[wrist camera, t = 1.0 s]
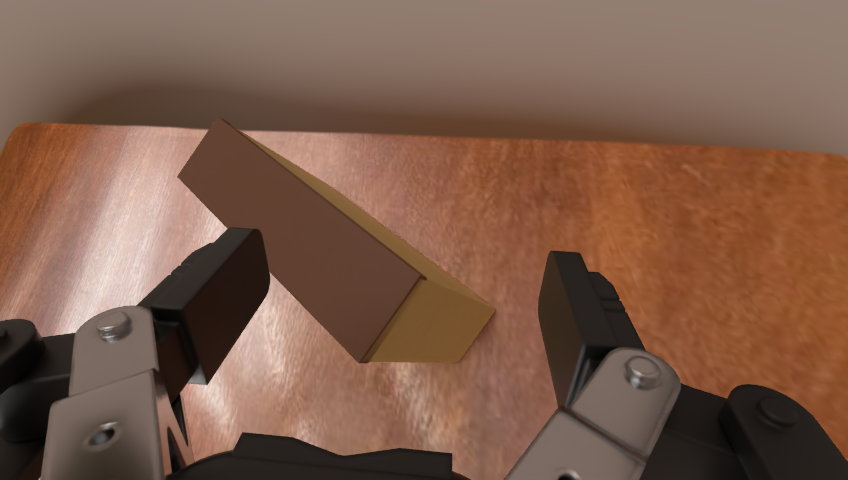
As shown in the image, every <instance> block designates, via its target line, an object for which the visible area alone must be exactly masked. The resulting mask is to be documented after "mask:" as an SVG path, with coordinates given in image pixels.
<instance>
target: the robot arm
mask: <svg viewBox="0 0 848 480" xmlns="http://www.w3.org/2000/svg"><path fill="white" fill-rule="evenodd" d="M269 285H270V273H269V267H268V262H267V257H266V251H265V246H264V240H263V236H262V233H261V231H260V230H259V229H252V228H238V227H230V228H228V229H227V230H226V231H225V232H224V233H223V234H222V235H221V236H220V237H219V238H218V239H217V240H216V241H215V242H214V243H209V244H207V245H205V246H204V247H202V248H200V249H198V250H196V251H194V252H192V253H191V254H190V255H189V256H188V257H187V258H186V259H185V260H184V261H183V262H182V263H181V266H178V267H177V268H176V269H175V270H173V271H172V272H171V275H168V276H167V277H166V278H165V279H164V280H163V281H162V282H161V283H160V284H159V285H158V286H157V287H156V288H154V289H153V290H152V291H151V292H150V293H149V294H148V295H147V296H146V297H145V298H144V299H143V300H142V301H141V302H140V303H139V304H138V305H137V306H123V307H118V308H114V309H111V310H108V311H105V312H102V313H100V314H98V315H96V316H94V317H93V318H91V319H89V320H88V321H87V322H85V323H84V324H83V325H82V326H81V327H80V328H79V329H78V330H77V332H76V333H71V334H63V335H56V336H49V337H41V336H40V334H39V332H38V330H37V329H36V327H35V325H34V324H33V323H32V322H31V321H28V320H24V319H11V320H5V321H0V480H38V479H39V478H40V477H41V479H40V480H471V479H469V478H467V477H465V476H463V475H461V474H458V473H456V472H453V471H452V453H443V452H433V451H423V450H413V449H403V448H397V449H390V450H383V451H376V452H369V453H362V454H355V455H348V456H342V455H337V454H335V453H332V452H330V451H327V450H324V449H322V448H319V447H317V446H314V445H311V444H309V443H306V442H304V441H301V440H298V439H296V438H293V437H284V436H274V435H264V434H254V433H244V432H242V434H241V436H240V438H239V440H238V442H237V444H236V446H235V448H234V450H230V451H225V452H221V453H218V454H214V455H211V456H208V457H206V458H203V459H200V460H198V461H196V462H195V459H194V454H193V449H192V443H191V437H190V432H189V426H188V420H187V415H186V409H185V403H184V399H183V396H182V393H181V391H182V390H183V388H184V387H185V386H186V384H187V383H191V384H201V385H208V383H209V382H210V380H211V379H212V377H213V376H214V374H215V373H216V371H217V370H218V368H219V367H220V365H221V364H222V362H223V361H224V359H225V358H226V356H227V354H228V353H229V351H230V350H231V348H232V347H233V345H234V344H235V342H236V341H237V339H238V338H239V336H240V335H241V333H242V332H243V330H244V329H245V327H246V326H247V324H248V323H249V321H250V320H251V318H252V317H253V315H254V314H255V312H256V311H257V309H258V308H259V306H260V305H261V303H262V302H263V300H264V299H265V297H266V295H267V293H268V290H269ZM538 316H539V322H540V327H541V331H542V336H543V340H544V345H545V349H546V354H547V358H548V363H549V367H550V372H551V376H552V381H553V385H554V390H555V394H556V399H557V403H558V409H557V410H556V411H555V413H554V414H553V415H552V416H551V418H550V419H549V420H548V422H547V423H546V424H545V426H544V427H543V428H542V430H541V431H540V432H539V434H538V435H537V436H536V437H535V439H534V440H533V441H532V443H531V444H530V445H529V447H528V448H527V449H526V451H525V452H524V453H523V455H522V456H521V457H520V459H519V460H518V461H517V462H516V464H515V465H514V466H513V468H512V469H511V470H510V472H509V473H508V474H507V476H506V477H505V478H504V480H848V462H847V460H846V459H845V458H844V456H843V455H842V454H841V452H840V451H839V450H838V448H837V447H836V446H835V444H834V443H833V442H832V440H831V439H830V438H829V436H828V435H827V434H826V432H825V431H824V430H823V428H822V427H821V426H820V424H819V423H818V422H817V420H816V419H815V418H814V417H813V416H812V415H811V414H810V413H809V412H808V411H807V410H806V409H805V408H804V407H802V406H801V405H800V404H798V403H797V402H796V401H794V400H793V399H791V398H789V397H787V396H786V395H784V394H782V393H780V392H777V391H775V390H772V389H770V388H767V387H763V386H759V385H750V384H746V385H740V386H737V387H735V388H734V389H733V390H732V391H731V393H730V394H729V396H728V398H727V399H726V398H723V397H720V396H717V395H714V394H711V393H707V392H704V391H701V390H698V389H695V388H692V387H689V386H686V385H684V384H682V383H680V379H679V377H678V375H677V374H676V372H675V371H674V370H673V368H672V367H671V366H670V365H669V364H667V363H666V362H665V361H664V360H662V359H661V358H659V357H658V356H656V355H654V354H652V353H650V352H647V351H646V350H645V348H644V346H643V344H642V342H641V340H640V338H639V336H638V334H637V332H636V330H635V328H634V326H633V324H632V322H631V320H630V318H629V316H628V314H627V312H625V308H624V306H623V304H622V302H621V301H619V296H618V294H617V292H616V290H615V288H614V286H613V285H612V284H611V283H610V282H609V281H608V280H607V279H606V278H605V277H603V276H602V275H601V274H600V273H599V272H588V270H587V268H586V265H585V263H584V261H583V258H582V256H581V254H580V253H577V252H563V251H550V253H549V255H548V258H547V262H546V267H545V272H544V276H543V281H542V286H541V290H540V295H539V302H538Z"/></svg>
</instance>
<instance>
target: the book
mask: <svg viewBox="0 0 848 480" xmlns="http://www.w3.org/2000/svg"><path fill="white" fill-rule="evenodd" d="M177 177H178V178H179V179H180V180H181V181H182V182H183V183H184V184H185V185H186V186H187V187H188V188H189V189H190V190H191V191H192V192H193V193H194V194H195V195H196V197H197V198H198V199H199V200H200V201H201V202H202V203H203V204H204V205H205V206H206V207H207V208H208V209H209V210H210V211H211V212H212V213H213V214H214V215H215V216H216V217H217V218H218V219H219V220H220V221H221V222H222V223H223V224H224V225H225V226H226V227H227V228H230V227H238V228H252V229H259V230H260V231H261V233H262V236H263V240H264V246H265V251H266V257H267V262H268V267H269V272H270V273H271V274H272V275H273V276H274V277H275V278H276V279H277V280H278V281H279V282H280V283H281V284H282V285H283V286H284V287H285V288H286V289H287V290H288V291H289V292H290V293H291V294H292V295H293V296H294V297H295V298H296V299H297V300H298V301H299V302H300V303H301V304H302V306H303V307H304V308H305V309H306V310H307V311H308V312H309V313H310V314H311V315H312V316H313V317H314V318H315V319H316V320H317V321H318V322H319V323H320V324H321V325H322V326H323V327H324V328H325V329H326V330H327V331H328V332H329V333H330V334H331V335H332V336H333V337H334V338H335V339H336V340H337V342H338V343H339V344H340V345H341V346H342V347H343V348H344V349H345V350H346V351H347V352H348V353H349V354H350V355H351V356H352V357H353V358H354V359H355V360H356V361H357V362H358V363H369V362H420V363H458V362H459V361H460V360H461V358H462V357H463V355H464V354H465V353H466V351H467V350H468V348H469V347H470V346H471V344H472V343H473V341H474V340H475V339H476V337H477V336H478V334H479V333H480V332H481V330H482V329H483V327H484V326H485V324H486V323H487V322H488V320H489V319H490V317H491V316H492V315H493V313H494V312H495V310H496V309H495V308H493V307H492V306H491V305H489V304H488V303H487V302H485V301H484V300H483V299H481V298H480V297H479V296H477V295H476V294H475V293H473V292H472V291H471V290H469V289H468V288H467V287H465V286H464V285H463V284H461V283H460V282H459V281H457V280H456V279H455V278H453V277H452V276H451V275H449V274H448V273H447V272H445V271H444V270H443V269H441V268H440V267H439V266H437V265H436V264H435V263H433V262H432V261H431V260H429V259H428V258H427V257H425V256H424V255H423V254H421V253H420V252H419V251H417V250H416V249H415V248H413V247H412V246H411V245H409V244H408V243H407V242H405V241H404V240H403V239H401V238H400V237H399V236H397V235H396V234H395V233H393V232H392V231H391V230H389V229H388V228H387V227H385V226H384V225H383V224H381V223H380V222H379V221H377V220H376V219H375V218H373V217H372V216H371V215H369V214H368V213H367V212H365V211H364V210H363V209H361V208H360V207H358V206H357V205H356V204H354V203H353V202H352V201H350V200H349V199H348V198H346V197H345V196H344V195H342V194H341V193H340V192H338V191H337V190H336V189H334V188H333V187H331V186H329V185H328V184H326V183H325V182H323V181H321V180H320V179H318V178H316V177H315V176H313V175H311V174H310V173H308V172H307V171H305V170H303V169H302V168H300V167H298V166H297V165H295V164H293V163H292V162H290V161H289V160H287V159H285V158H284V157H282V156H280V155H279V154H277V153H275V152H274V151H272V150H271V149H269V148H267V147H266V146H264V145H262V144H261V143H259V142H257V141H256V140H254V139H253V138H251V137H249V136H248V135H246V134H244V133H243V132H241V131H239V130H238V129H236V128H235V127H233V126H232V125H230V124H229V123H228V122H226V121H225V120H223V119H222V118H220V117H217V119H216V120H215V122H214V123H213V125H212V126H211V128H210V129H209V130H208V132H207V133H206V135H205V136H204V138H203V139H202V141H201V142H200V144H199V145H198V147H197V148H196V150H195V151H194V153H193V154H192V156H191V157H190V158H189V160H188V161H187V163H186V164H185V166H184V167H183V169H182V170H181V172H180V173H179V175H178V176H177Z"/></svg>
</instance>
